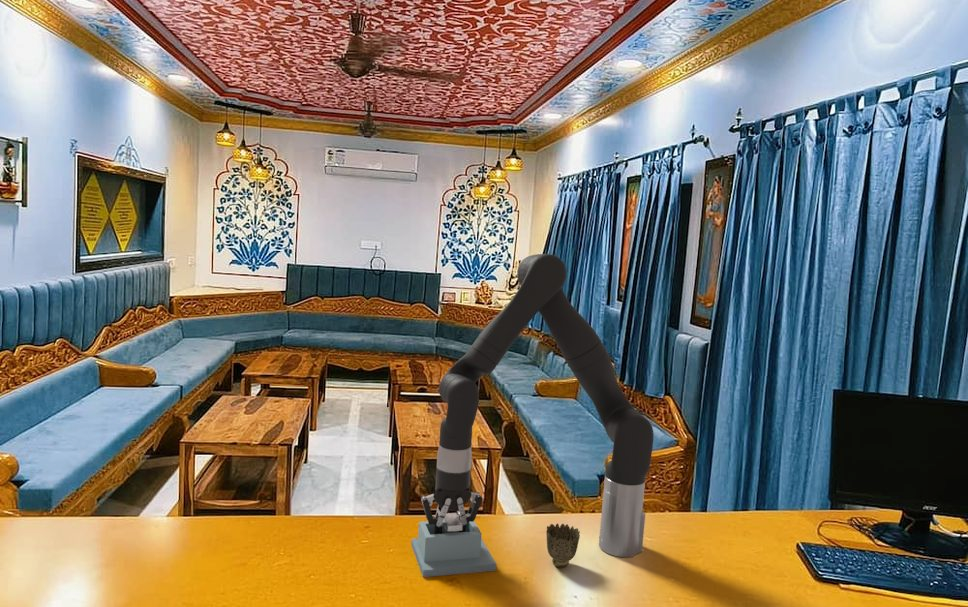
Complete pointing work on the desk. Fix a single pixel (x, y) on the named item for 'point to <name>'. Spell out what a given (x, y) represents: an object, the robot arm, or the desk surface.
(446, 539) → the well board
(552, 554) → the cup
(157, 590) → the desk surface
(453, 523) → the grey painted wood block
